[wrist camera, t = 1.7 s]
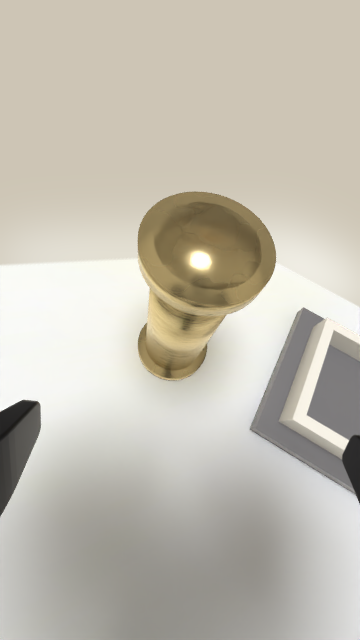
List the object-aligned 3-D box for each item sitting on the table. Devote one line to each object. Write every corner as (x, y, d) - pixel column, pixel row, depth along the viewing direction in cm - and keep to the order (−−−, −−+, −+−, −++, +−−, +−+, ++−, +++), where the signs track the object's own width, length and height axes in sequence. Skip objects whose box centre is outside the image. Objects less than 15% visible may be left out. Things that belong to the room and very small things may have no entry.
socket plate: (416, 378, 24) (450, 370, 22) (396, 519, 19) (438, 531, 17) (297, 312, 26) (316, 296, 23) (249, 429, 20) (266, 427, 18)
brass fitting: (216, 363, 22) (302, 276, 11) (154, 392, 21) (176, 326, 9) (186, 308, 24) (232, 181, 12) (127, 330, 22) (116, 207, 11)
